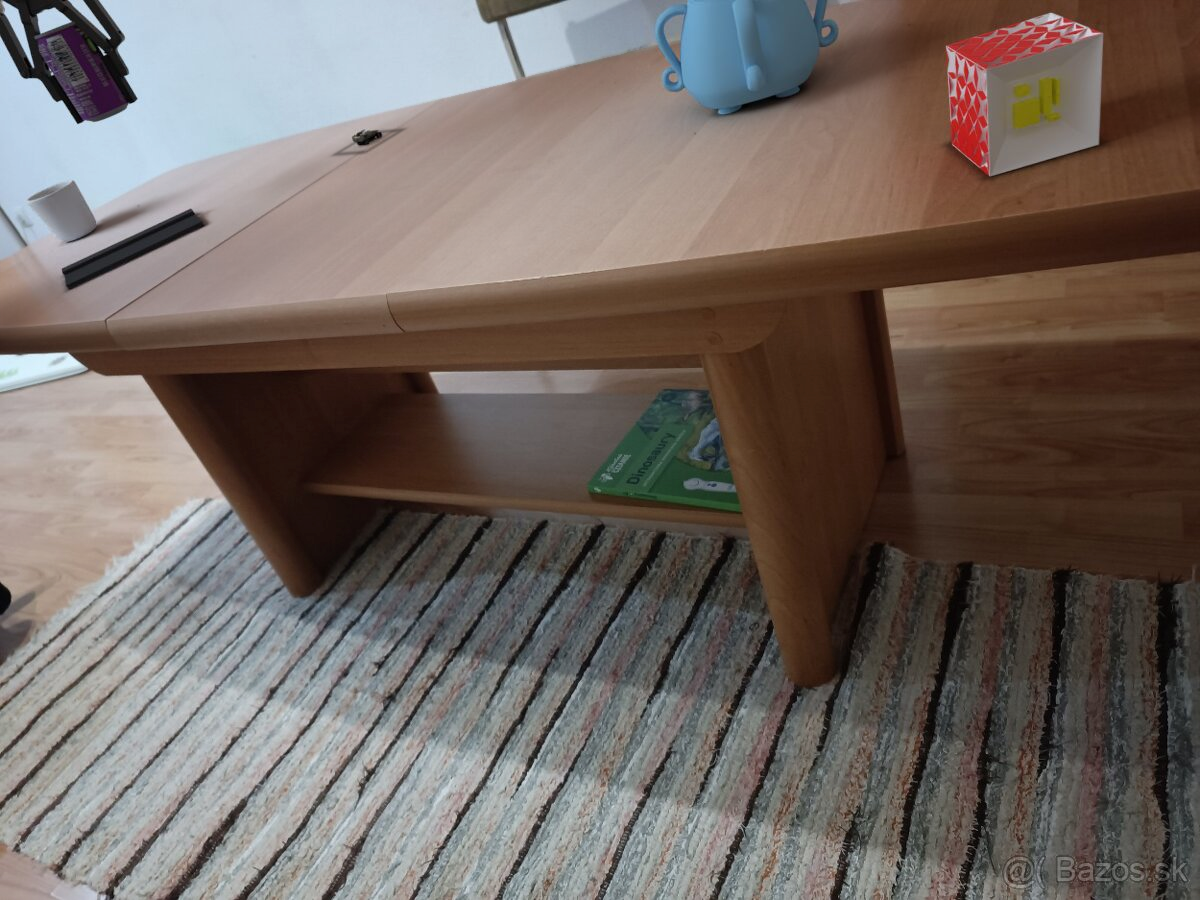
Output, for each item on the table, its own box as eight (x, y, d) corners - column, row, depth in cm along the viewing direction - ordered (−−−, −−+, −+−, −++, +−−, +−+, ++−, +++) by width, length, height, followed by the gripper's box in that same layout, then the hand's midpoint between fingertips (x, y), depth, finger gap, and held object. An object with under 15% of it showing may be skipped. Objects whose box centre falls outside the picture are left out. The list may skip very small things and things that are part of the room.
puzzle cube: (989, 176, 65) (985, 69, 61) (951, 145, 72) (945, 45, 67) (1100, 144, 64) (1104, 32, 60) (1051, 114, 70) (1052, 11, 66)
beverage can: (142, 102, 125) (90, 14, 118) (101, 122, 121) (45, 32, 114) (117, 108, 129) (66, 23, 122) (77, 127, 125) (21, 41, 118)
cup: (66, 232, 151) (36, 189, 147) (110, 214, 152) (81, 171, 147) (52, 251, 142) (19, 206, 138) (99, 232, 143) (67, 187, 138)
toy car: (383, 136, 136) (377, 123, 135) (364, 147, 134) (358, 134, 133) (373, 136, 138) (367, 124, 137) (354, 147, 136) (348, 135, 135)
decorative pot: (657, 118, 101) (624, -6, 94) (755, 63, 107) (732, -59, 99) (753, 128, 89) (725, -14, 81) (859, 65, 94) (842, -74, 86)
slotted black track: (69, 290, 120) (63, 282, 119) (66, 273, 128) (61, 266, 127) (204, 225, 126) (199, 218, 125) (194, 214, 133) (189, 206, 133)
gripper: (79, -93, 115) (177, 81, 128) (-66, -39, 114) (48, 131, 127) (65, -94, 109) (170, 90, 122) (-88, -36, 108) (34, 142, 121)
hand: (107, 111), depth 125 cm, fingers closed on beverage can, 7 cm apart
